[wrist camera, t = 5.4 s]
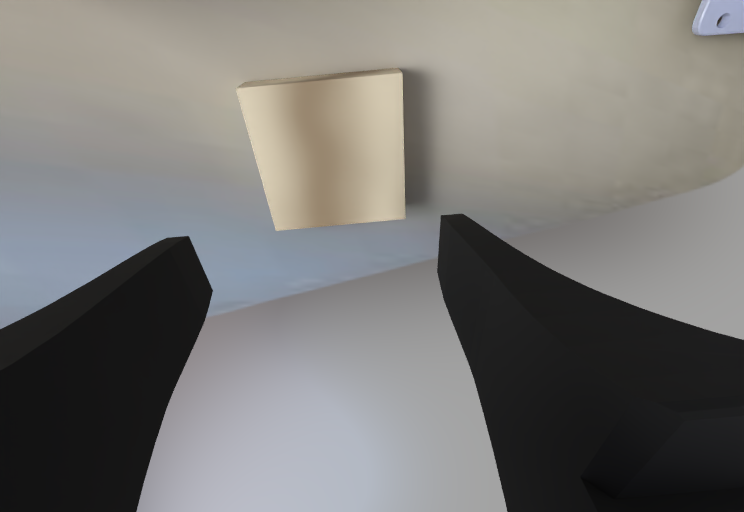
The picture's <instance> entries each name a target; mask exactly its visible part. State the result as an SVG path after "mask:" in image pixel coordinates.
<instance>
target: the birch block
mask: <svg viewBox="0 0 744 512" xmlns="http://www.w3.org/2000/svg"><path fill="white" fill-rule="evenodd" d="M236 91H237V94H238V98H239V101H240V105H241V109H242V112H243V116H244V119H245V123H246V126H247V130H248V133H249V137H250V140H251V144H252V147H253V151H254V155H255V158H256V162H257V165H258V169H259V172H260V176H261V179H262V183H263V186H264V190H265V194H266V197H267V201H268V204H269V208H270V211H271V215H272V218H273V222H274V225H275V229H276V231H279V230H290V229H301V228H311V227H322V226H333V225H344V224H354V223H365V222H376V221H387V220H398V219H405V175H404V127H403V78H402V72H401V71H400V70H399V68H392V69H381V70H370V71H360V72H349V73H338V74H328V75H317V76H306V77H296V78H285V79H274V80H264V81H253V82H245V83H243V84H242V85H240V86H239V87H237V88H236Z"/></svg>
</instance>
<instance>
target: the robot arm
mask: <svg viewBox="0 0 744 512" xmlns="http://www.w3.org/2000/svg"><path fill="white" fill-rule="evenodd" d="M721 16H722V20H721V22H720V23H719V24H718V25H717V21H718V19H719V18H720V17H721ZM692 32H693V33H694V34H695V35H702V36H707V35H720V34H733V33H744V0H702V2H701V4H700V7H699V9H698V11H697V14H696V16H695V19H694V21H693V25H692ZM437 273H438V277H439V281H440V285H441V290H442V293H443V298H444V301H445V304H446V307H447V309H448V312H449V314H450V317H451V320H452V322H453V325H454V327H455V330H456V332H457V335H458V338H459V340H460V342H461V345H462V348H463V350H464V353H465V355H466V358H467V360H468V363H469V366H470V369H471V372H472V374H473V377H474V380H475V384H476V388H477V391H478V395H479V399H480V402H481V406H482V409H483V413H484V417H485V421H486V425H487V428H488V432H489V436H490V440H491V444H492V448H493V452H494V456H495V460H496V464H497V469H498V473H499V477H500V481H501V485H502V490H503V493H504V498H505V502H506V507H507V511H508V512H744V340H742V339H738V338H734V337H730V336H727V335H723V334H719V333H716V332H712V331H709V330H705V329H702V328H699V327H696V326H693V325H690V324H687V323H684V322H680V321H677V320H674V319H671V318H668V317H665V316H662V315H659V314H656V313H653V312H650V311H648V310H645V309H642V308H639V307H636V306H634V305H631V304H629V303H626V302H624V301H621V300H619V299H616V298H613V297H611V296H608V295H606V294H603V293H601V292H599V291H596V290H594V289H592V288H589V287H587V286H585V285H583V284H581V283H578V282H576V281H574V280H572V279H570V278H568V277H566V276H564V275H562V274H560V273H558V272H556V271H554V270H552V269H550V268H548V267H546V266H544V265H543V264H541V263H539V262H537V261H536V260H534V259H532V258H530V257H529V256H527V255H525V254H523V253H522V252H520V251H519V250H517V249H515V248H514V247H512V246H510V245H509V244H507V243H506V242H504V241H503V240H501V239H500V238H498V237H497V236H495V235H494V234H492V233H491V232H489V231H488V230H486V229H485V228H484V227H482V226H481V225H479V224H478V223H476V222H475V221H473V220H472V219H470V218H469V217H467V216H465V215H464V214H453V215H441V223H440V238H439V254H438V269H437ZM212 292H213V290H212V288H211V285H210V283H209V281H208V279H207V276H206V274H205V272H204V270H203V267H202V265H201V263H200V261H199V258H198V256H197V254H196V252H195V249H194V247H193V245H192V243H191V240H190V238H189V236H184V237H172V238H166V239H164V240H161V241H159V242H157V243H155V244H153V245H151V246H149V247H148V248H146V249H144V250H142V251H141V252H139V253H137V254H135V255H134V256H132V257H130V258H129V259H127V260H125V261H124V262H122V263H120V264H119V265H117V266H115V267H114V268H112V269H110V270H109V271H107V272H105V273H104V274H102V275H100V276H99V277H97V278H95V279H94V280H92V281H90V282H89V283H87V284H85V285H83V286H81V287H80V288H78V289H76V290H74V291H73V292H71V293H69V294H67V295H66V296H64V297H62V298H60V299H58V300H57V301H55V302H53V303H51V304H50V305H48V306H46V307H44V308H42V309H40V310H38V311H36V312H34V313H32V314H31V315H29V316H27V317H25V318H23V319H21V320H19V321H17V322H15V323H12V324H10V325H8V326H6V327H4V328H2V329H0V512H136V511H137V506H138V503H139V499H140V495H141V491H142V487H143V483H144V480H145V476H146V473H147V469H148V466H149V462H150V459H151V456H152V452H153V449H154V445H155V442H156V439H157V436H158V433H159V430H160V427H161V424H162V420H163V417H164V414H165V411H166V408H167V406H168V403H169V400H170V398H171V396H172V393H173V391H174V388H175V386H176V384H177V382H178V379H179V377H180V375H181V373H182V371H183V368H184V366H185V363H186V362H187V360H188V357H189V355H190V353H191V350H192V349H193V346H194V344H195V342H196V340H197V337H198V335H199V332H200V330H201V328H202V326H203V323H204V321H205V318H206V315H207V311H208V308H209V304H210V300H211V296H212Z"/></svg>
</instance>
